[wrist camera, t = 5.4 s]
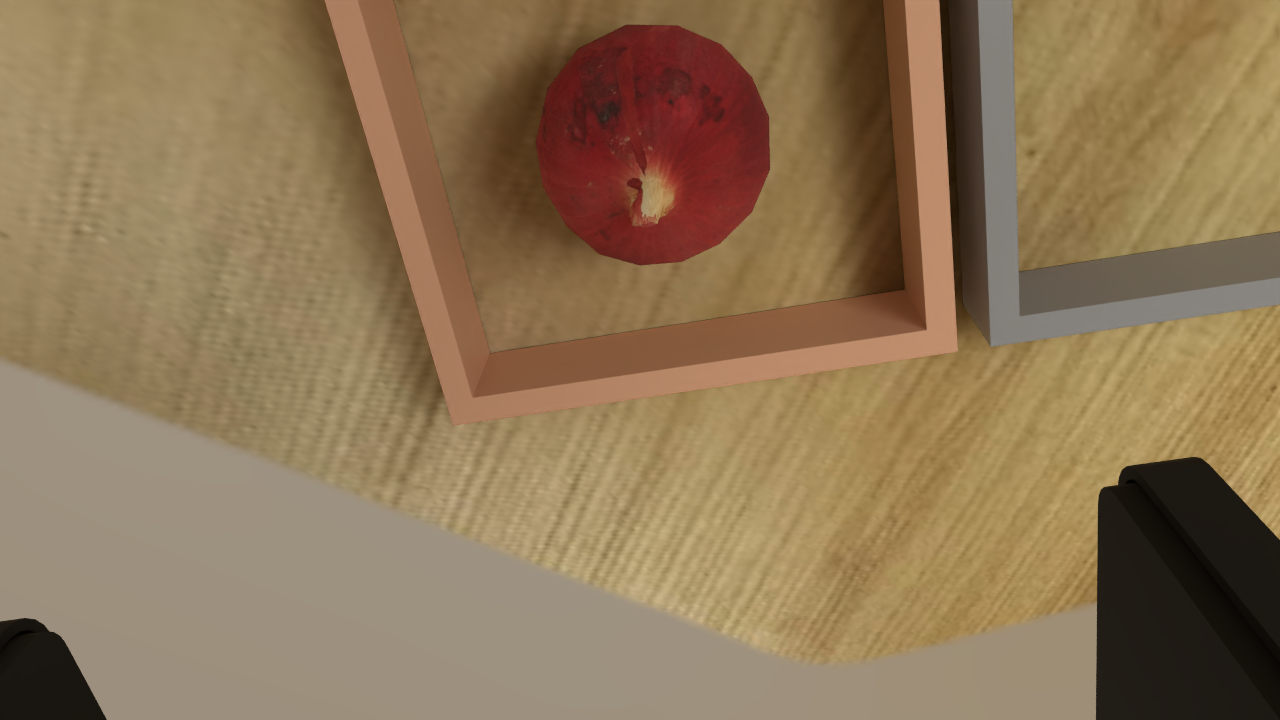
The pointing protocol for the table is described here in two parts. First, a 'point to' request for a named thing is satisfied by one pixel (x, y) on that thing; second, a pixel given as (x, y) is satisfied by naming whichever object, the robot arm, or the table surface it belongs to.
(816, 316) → the terracotta crate
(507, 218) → the table surface
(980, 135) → the frame
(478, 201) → the table surface
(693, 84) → the onion
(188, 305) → the table surface
